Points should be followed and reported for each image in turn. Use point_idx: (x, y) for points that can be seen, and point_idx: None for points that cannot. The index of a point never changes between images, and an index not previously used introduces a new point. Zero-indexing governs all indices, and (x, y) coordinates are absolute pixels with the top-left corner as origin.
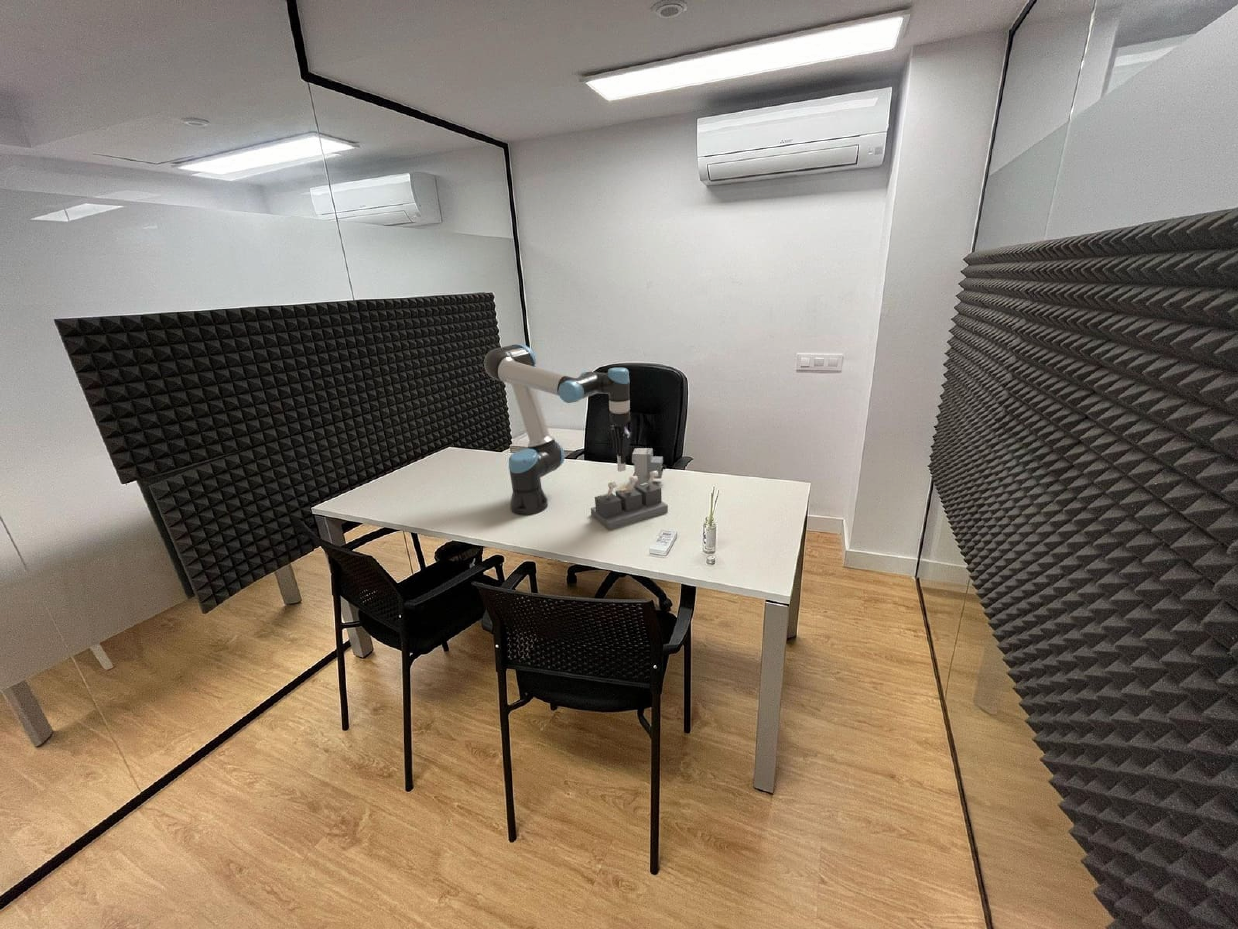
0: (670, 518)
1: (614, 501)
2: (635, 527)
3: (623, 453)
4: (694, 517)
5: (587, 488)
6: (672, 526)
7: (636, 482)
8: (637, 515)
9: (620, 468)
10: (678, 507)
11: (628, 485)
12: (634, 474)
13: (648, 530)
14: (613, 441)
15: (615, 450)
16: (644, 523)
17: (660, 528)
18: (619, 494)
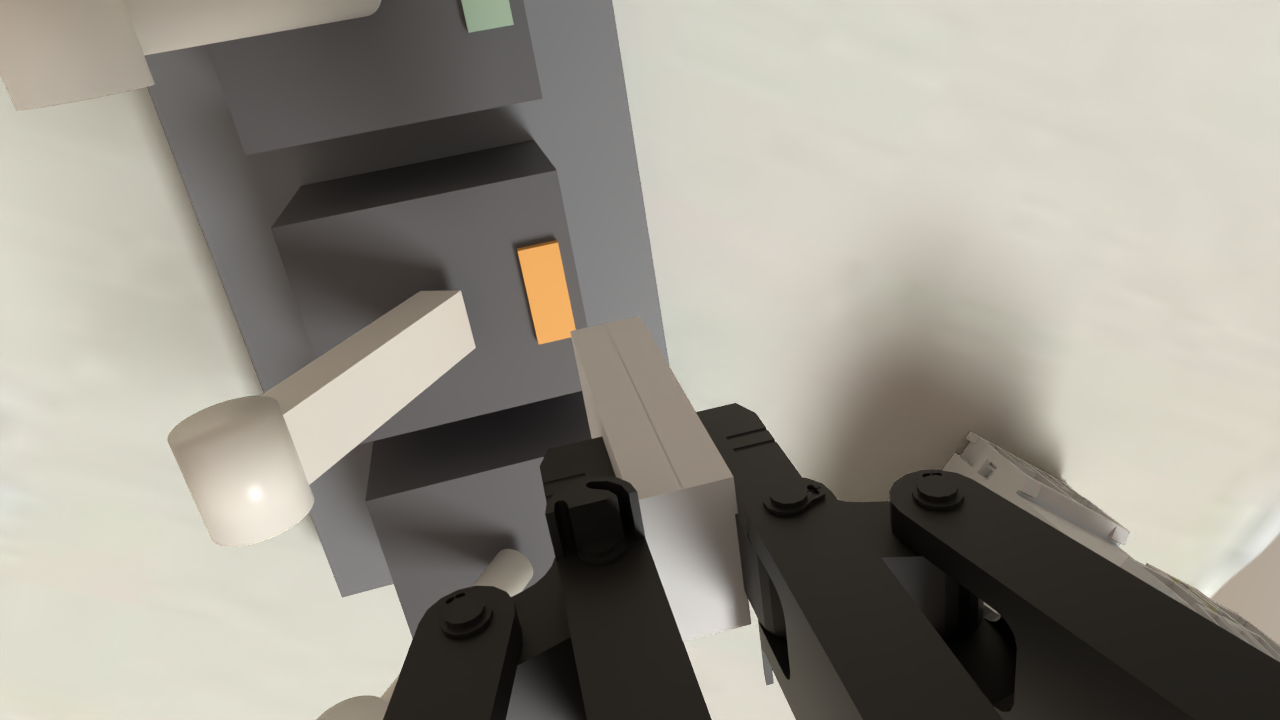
0: (215, 543)
1: (211, 45)
2: (109, 200)
3: (408, 671)
4: (175, 709)
5: (1167, 15)
6: (43, 519)
7: (969, 471)
8: (224, 281)
9: (582, 375)
10: (405, 647)
11: (362, 349)
12: (1047, 499)
13: (5, 300)
14: (1148, 655)
15: (891, 506)
16: (177, 309)
17: (25, 414)
18: (444, 191)
